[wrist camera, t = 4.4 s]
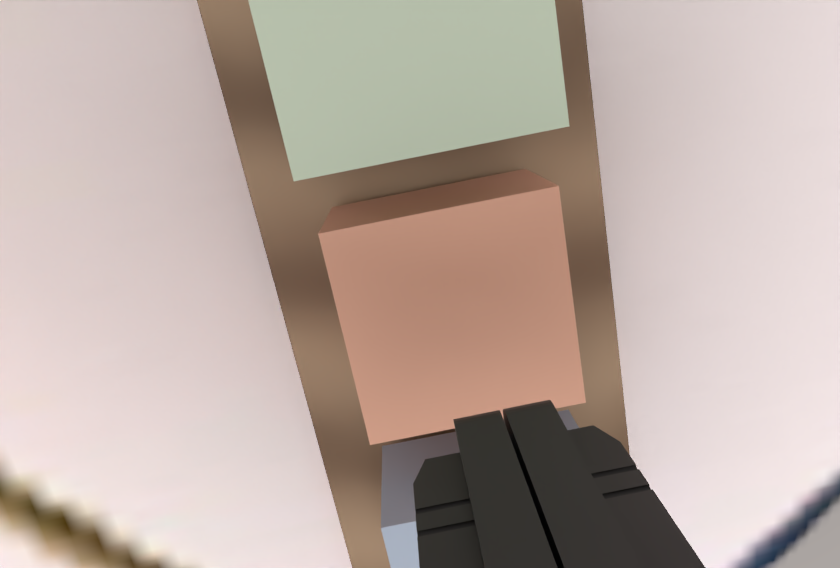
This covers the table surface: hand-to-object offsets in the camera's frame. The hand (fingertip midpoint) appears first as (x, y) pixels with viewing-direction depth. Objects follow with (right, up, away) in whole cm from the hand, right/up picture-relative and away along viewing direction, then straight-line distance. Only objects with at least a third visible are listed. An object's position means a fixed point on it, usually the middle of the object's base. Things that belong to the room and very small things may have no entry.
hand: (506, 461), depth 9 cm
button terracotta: (0, +3, +10) cm, 11 cm away
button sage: (-2, +9, +7) cm, 12 cm away
